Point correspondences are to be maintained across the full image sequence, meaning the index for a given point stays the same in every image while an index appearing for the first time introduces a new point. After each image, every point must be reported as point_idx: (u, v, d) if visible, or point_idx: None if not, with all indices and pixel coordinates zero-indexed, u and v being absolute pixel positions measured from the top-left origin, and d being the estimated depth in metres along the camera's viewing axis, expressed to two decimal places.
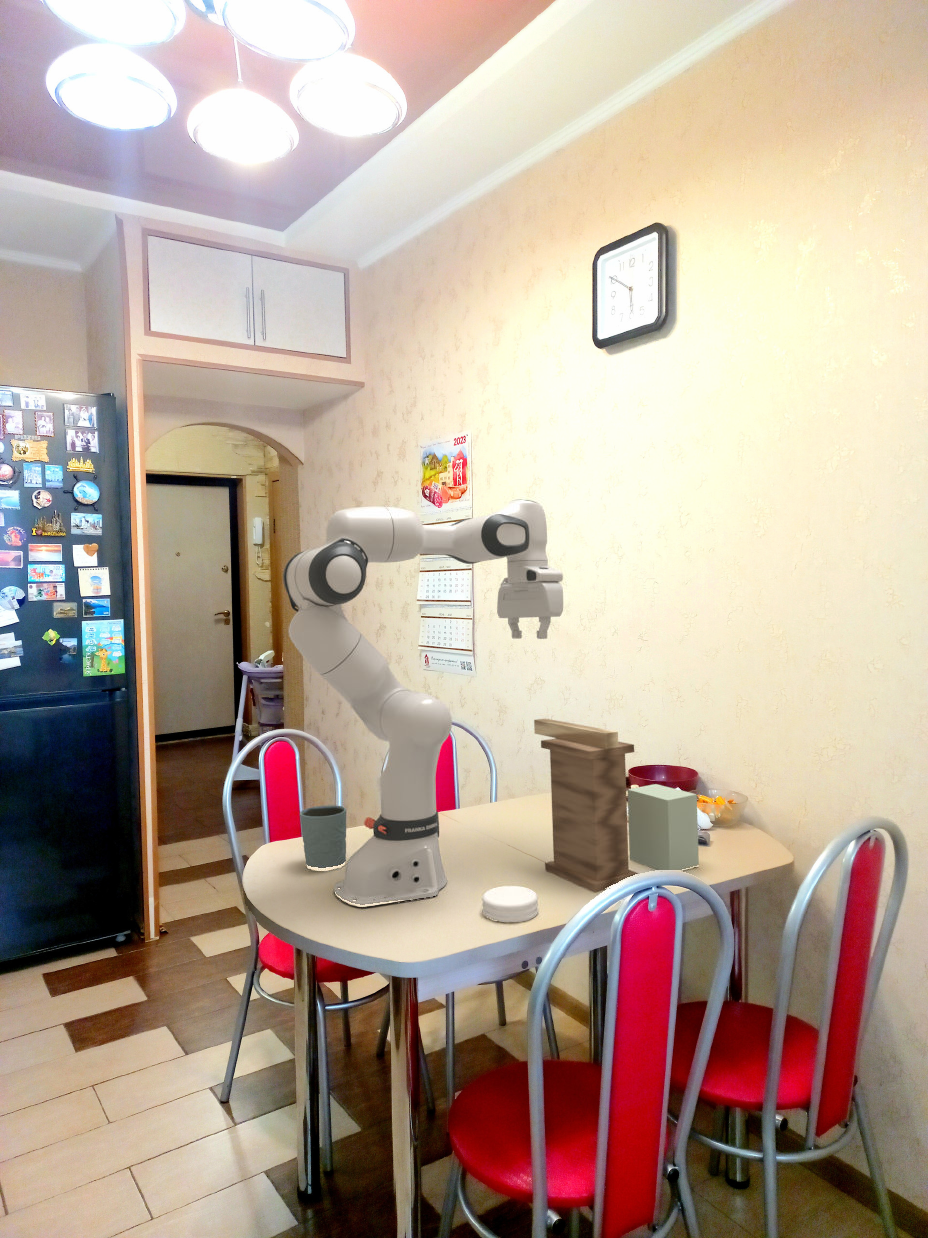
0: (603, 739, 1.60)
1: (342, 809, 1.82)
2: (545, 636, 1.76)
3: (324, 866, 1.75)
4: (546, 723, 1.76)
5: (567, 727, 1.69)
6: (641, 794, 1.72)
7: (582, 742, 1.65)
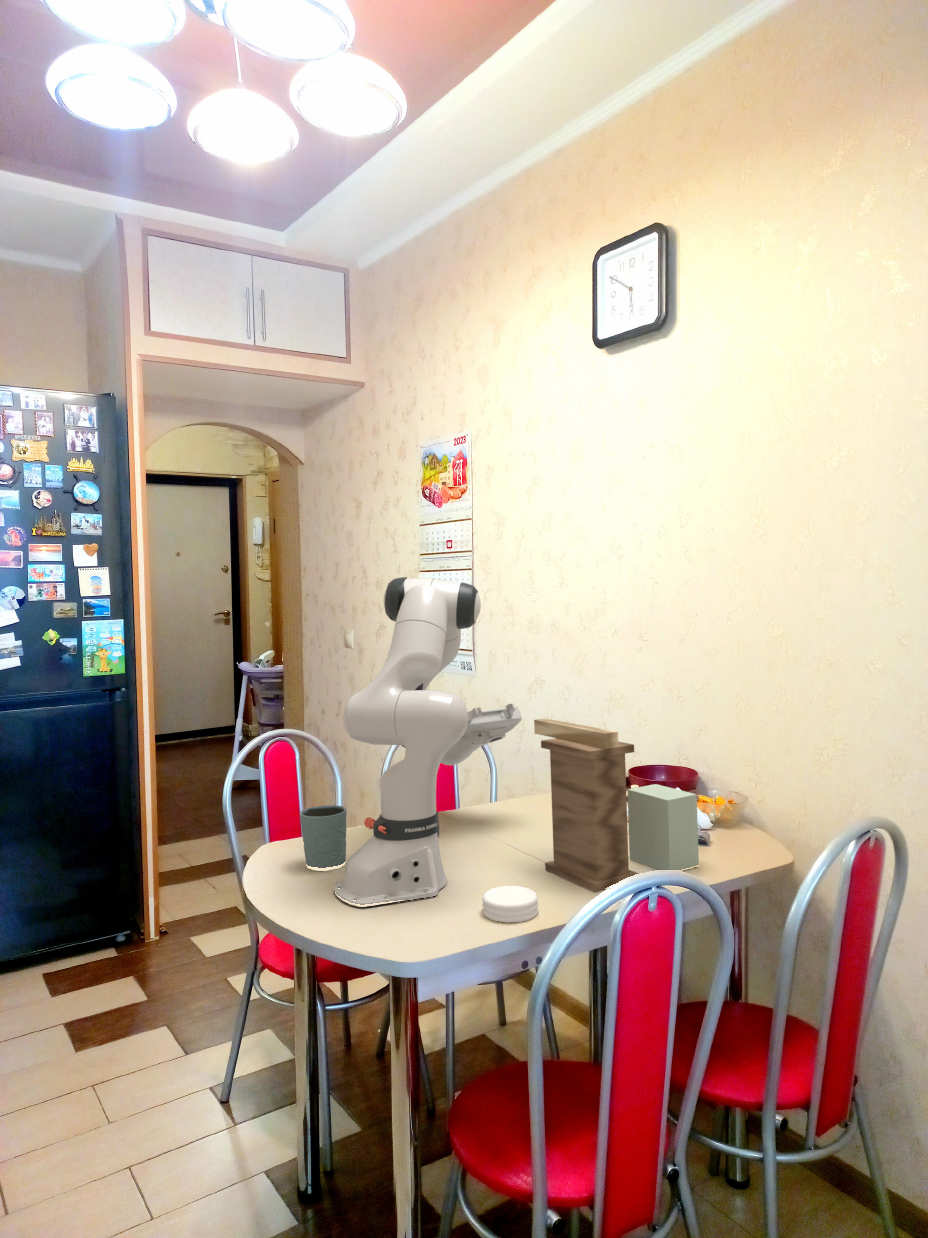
0: (603, 739, 1.60)
1: (342, 809, 1.82)
2: None
3: (324, 866, 1.75)
4: (546, 723, 1.76)
5: (567, 727, 1.69)
6: (641, 794, 1.72)
7: (582, 742, 1.65)
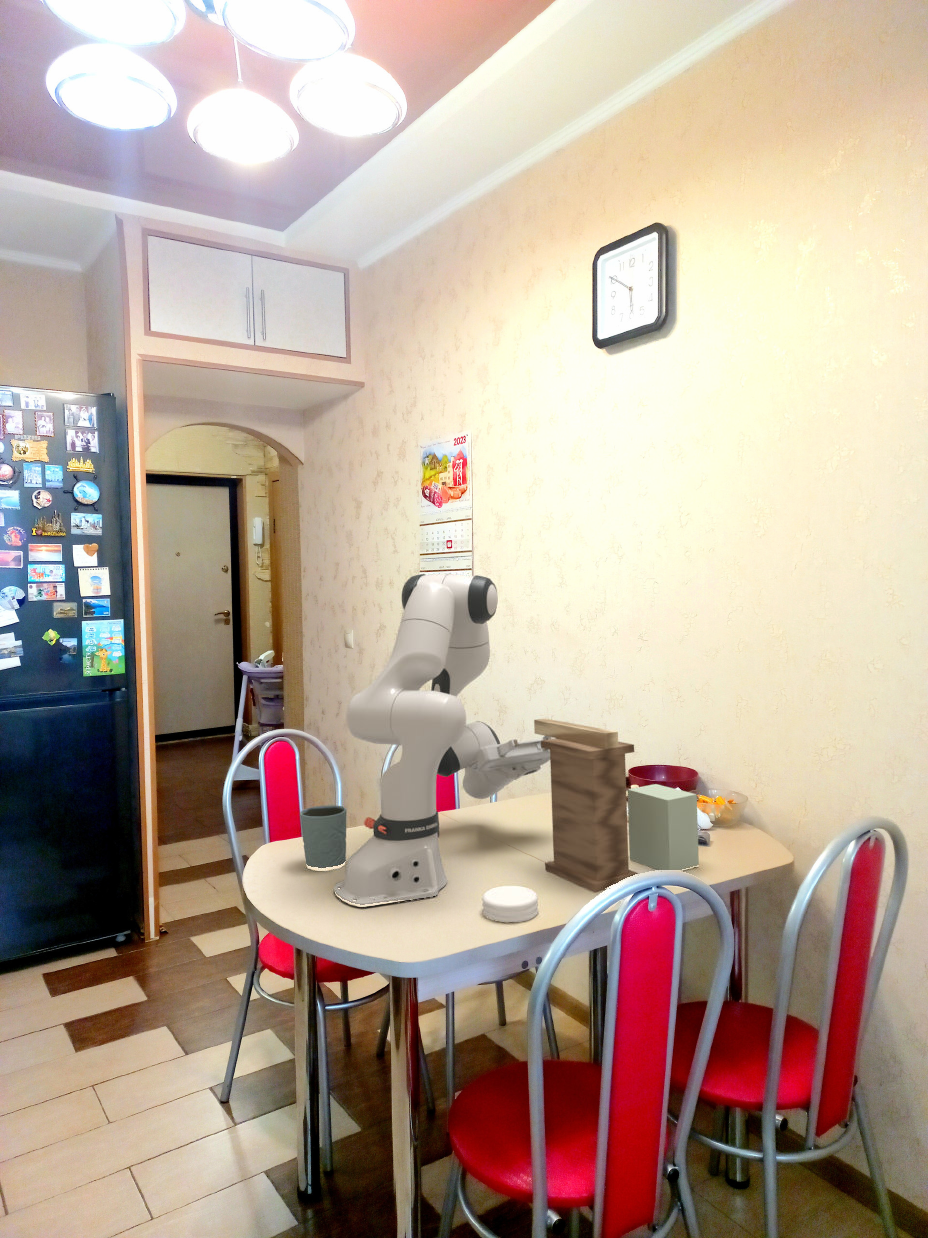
0: (603, 739, 1.60)
1: (342, 809, 1.82)
2: None
3: (324, 866, 1.75)
4: (546, 723, 1.76)
5: (567, 727, 1.69)
6: (641, 794, 1.72)
7: (582, 742, 1.65)
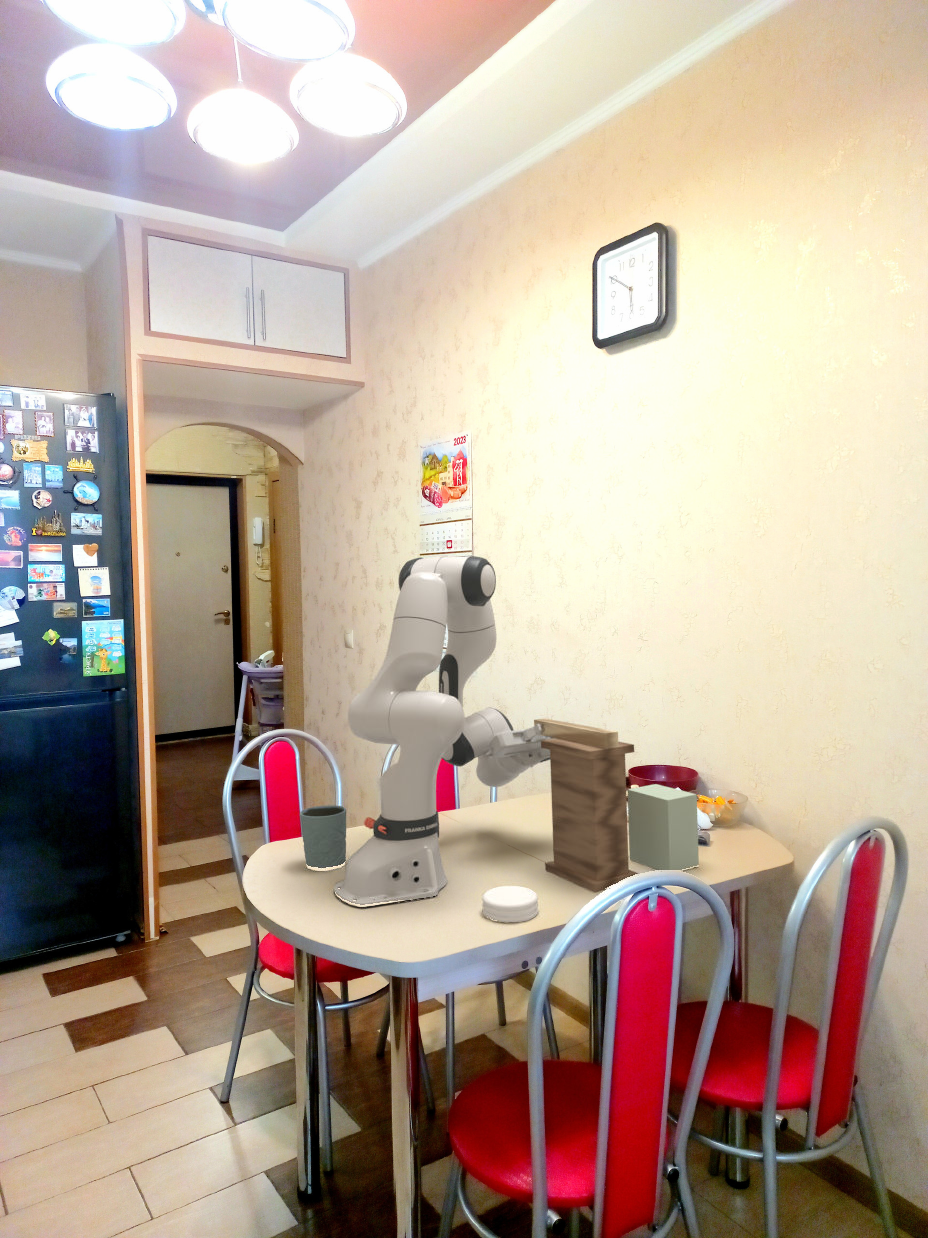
0: (603, 739, 1.60)
1: (342, 809, 1.82)
2: None
3: (324, 866, 1.75)
4: (546, 723, 1.76)
5: (567, 727, 1.69)
6: (641, 794, 1.72)
7: (582, 742, 1.65)
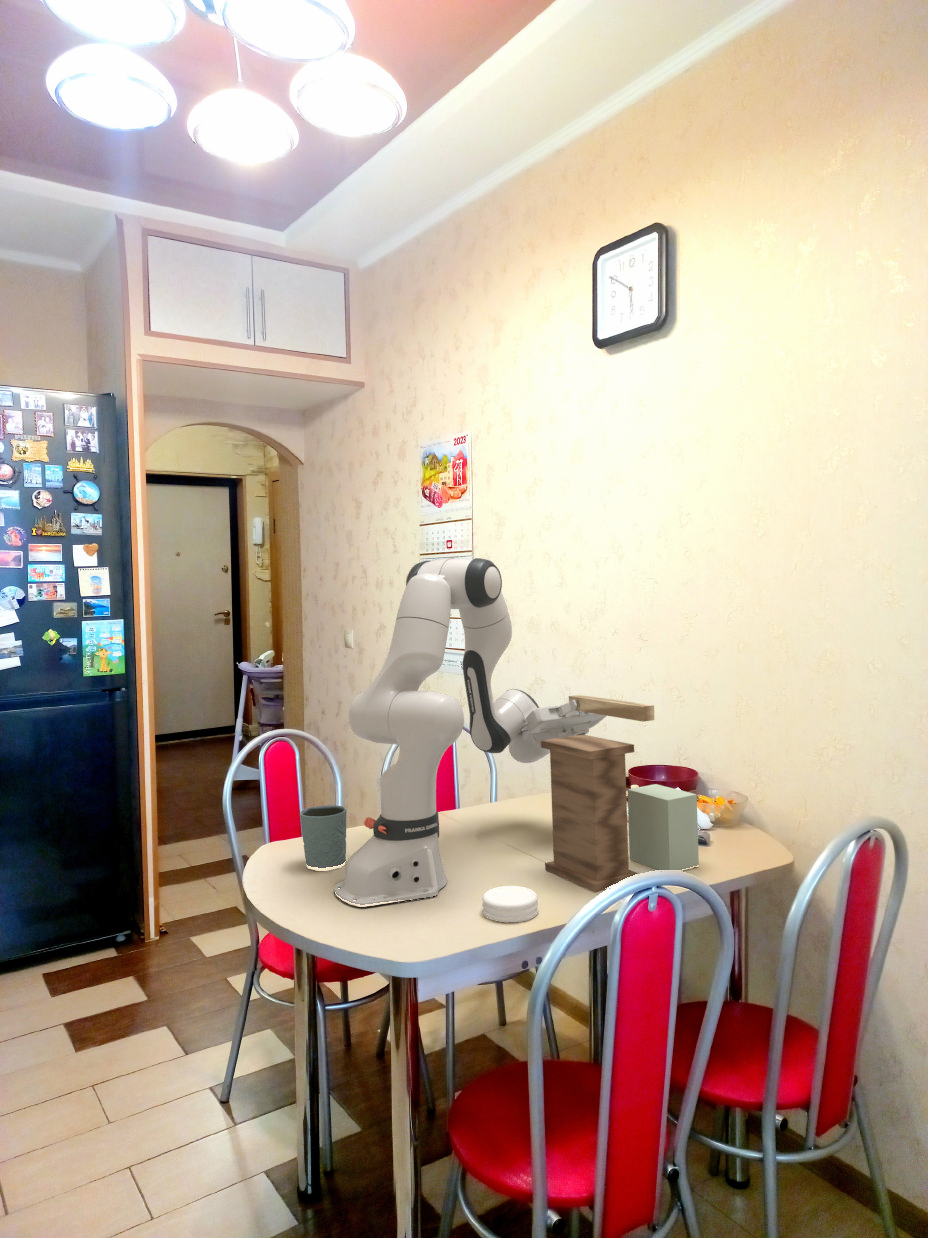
0: (639, 712, 1.66)
1: (342, 809, 1.82)
2: None
3: (324, 866, 1.75)
4: (581, 699, 1.82)
5: (603, 702, 1.75)
6: (641, 794, 1.72)
7: (618, 716, 1.71)
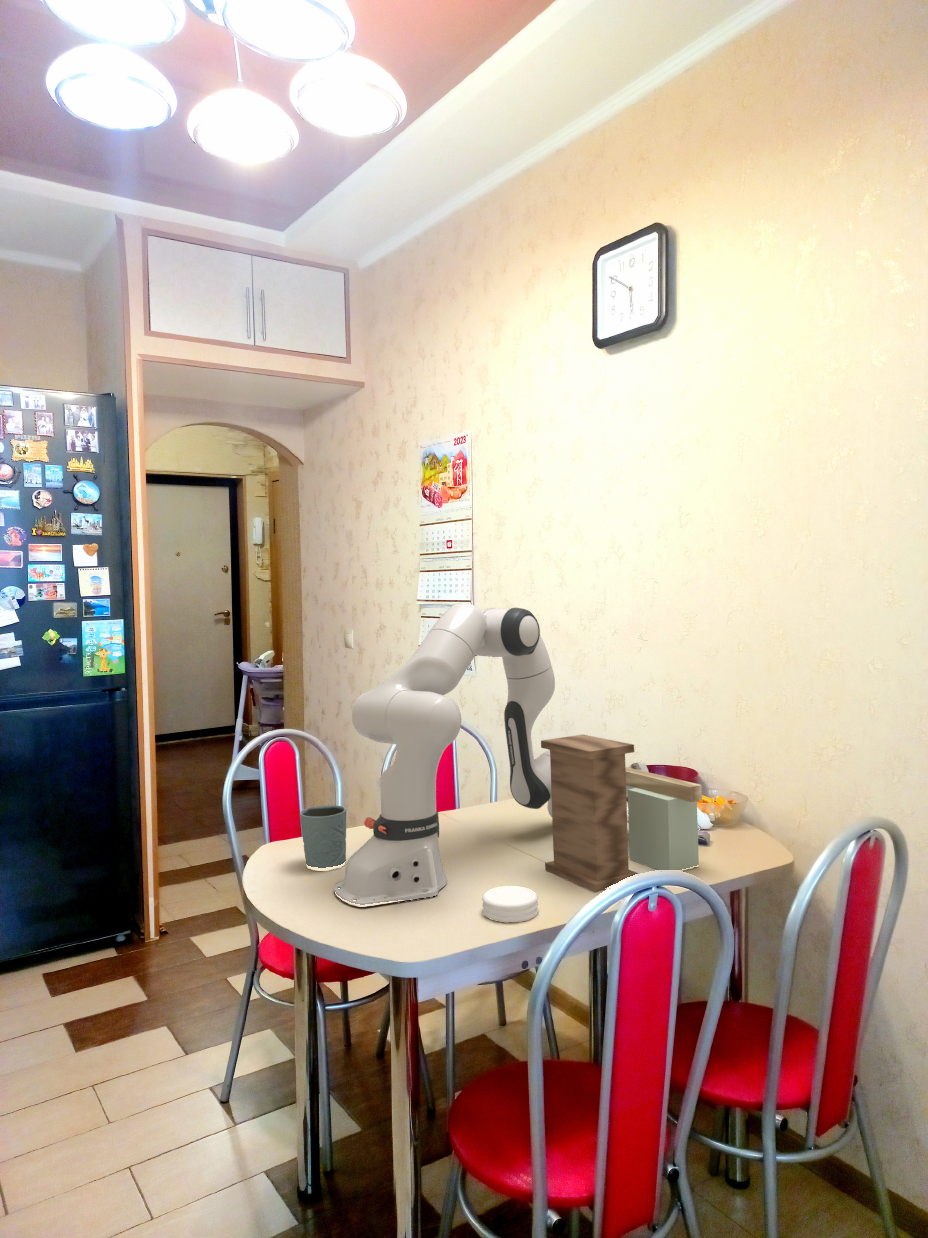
0: (687, 792, 1.64)
1: (342, 809, 1.82)
2: None
3: (324, 866, 1.75)
4: None
5: (648, 778, 1.74)
6: (641, 794, 1.72)
7: (664, 794, 1.70)
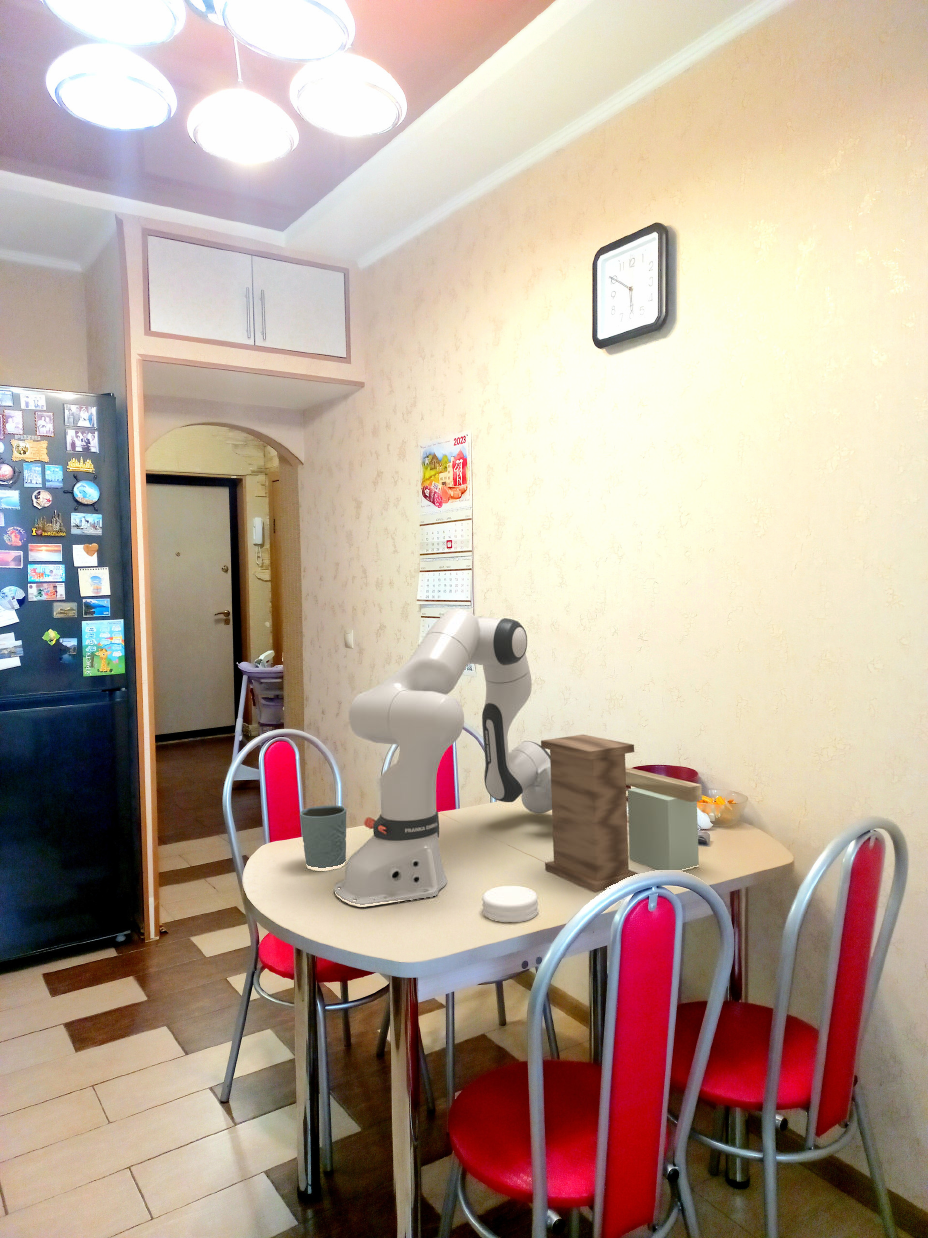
0: (687, 792, 1.64)
1: (342, 809, 1.82)
2: None
3: (324, 866, 1.75)
4: None
5: (648, 778, 1.74)
6: (641, 794, 1.72)
7: (664, 794, 1.70)
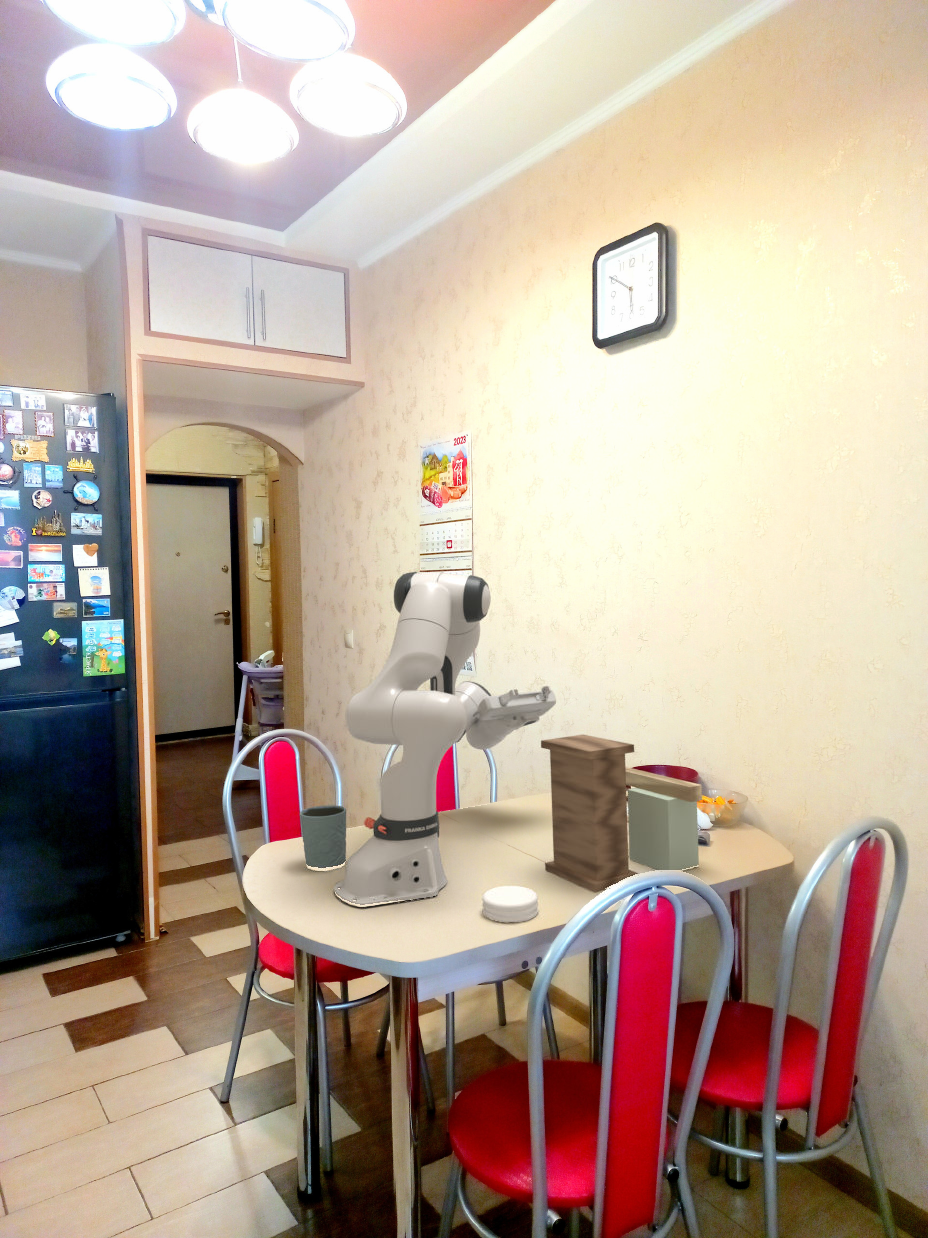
0: (687, 792, 1.64)
1: (342, 809, 1.82)
2: None
3: (324, 866, 1.75)
4: None
5: (648, 778, 1.74)
6: (641, 794, 1.72)
7: (664, 794, 1.70)
